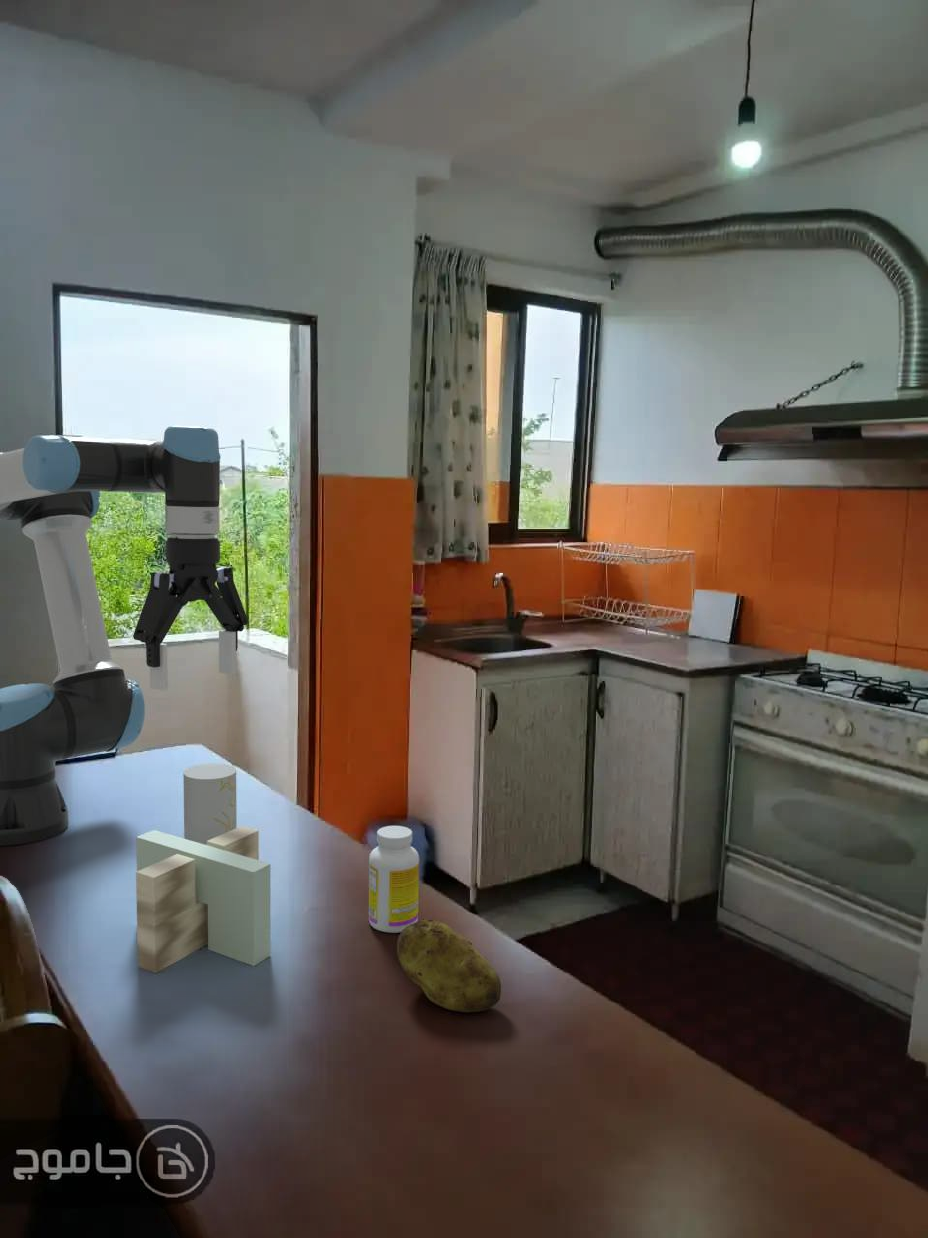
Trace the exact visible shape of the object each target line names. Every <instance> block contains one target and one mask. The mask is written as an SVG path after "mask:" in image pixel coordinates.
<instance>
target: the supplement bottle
mask: <svg viewBox="0 0 928 1238" xmlns="http://www.w3.org/2000/svg"><path fill="white" fill-rule="evenodd" d="M412 841H413V831H412V829H411V828H409V827H406V826H402V825H387V826H383V827H381V828H378V830H377V831H376V842H377V844H378V845H377V846H376V847H374V848H373V849H372V850H371V852H370V854H369V857H368V858H369V861H368V866H369V867H368V868H369V869H368V871H369V872H368V873H369V874H368V922H369V923H370V925H371V927H372V928H373V929H375V930H377V931H379V932H384V933H389V934H390V933H391V934H396V933H397V934H398V933H401V932H402V931H403V930H404V929H405V928H406V927H407V926H408V925H411V924H413V923H416V922H418V921H419V920H418V919H419V897H420V896H419V895H420V893H419V892H420V891H419V887H420V883H419V882H420V881H419V880H420V855H419V852H418V851H417V850H416V848H414V847H413V846H411V844H412Z"/></svg>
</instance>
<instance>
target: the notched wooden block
mask: <svg viewBox="0 0 928 1238" xmlns="http://www.w3.org/2000/svg"><path fill="white" fill-rule="evenodd" d="M259 834H260V833H259V830H258V829H254V828H251V827H247V826H243V825H240V826H237V828H236V829H233V830H231V831H229V832H226V833H224V834H222V835H220V836H217V837H215V838H213V839H210V840H208V841H207V845H208V846H211V847H214V848H218V849H221V850H225V851H228V852H232V853H235V854H238V855H242V856H245V857H249V858H252V859H256V860H259V861H260V856H259V855H260V852H259V850H260V849H259V847H260V846H259V841H260V838H259ZM135 883H136V884H135V886H136V887H135V888H136V889H135V890H136V930H137V931H136V934H137V938H136V939H137V967H139V968H141V969H142V970H143V969H144V970H146V971H148V972H151V973H154V974H157V973H159V972H161V971H163V970H165V969H166V968H168V967H170V966H172V965H173V964H175V963H176V962H179V961H181V960H182V959H184V958H186V957H188V956H190V955H192V954H193V953H195V952H197V951H198V950H200V949H202V948H203V947H206V946H208V904H205V903H202V902H199V901H196V898H195V859H193V858H189V857H186V856H183V855H180V854H176V855H174V856H171V857H169V858H167V859H164V860H162V861H160V862H158V863H155V864H153V865H151V866H148V867H146V868H144V869H142V870H139V871H137V870H136V871H135Z"/></svg>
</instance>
